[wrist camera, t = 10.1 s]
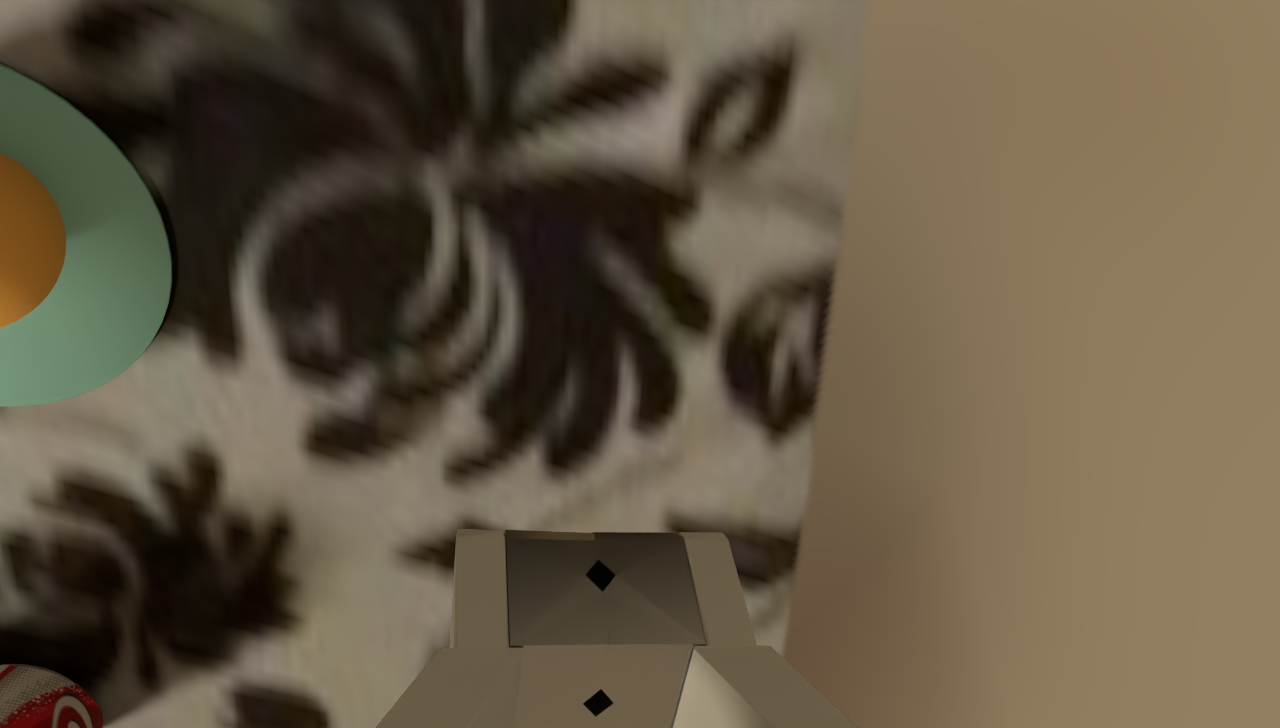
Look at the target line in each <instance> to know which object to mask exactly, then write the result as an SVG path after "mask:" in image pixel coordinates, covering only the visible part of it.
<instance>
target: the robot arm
mask: <svg viewBox="0 0 1280 728" xmlns="http://www.w3.org/2000/svg"><path fill="white" fill-rule="evenodd" d="M376 728H858V727H856V726H855V725H854V724H853V723H852V722H851V721H850V720H849V719H848V718H847V717H845V716H844V715H843V713H841V712H840V711H839V710H838V709H837V708H836V707H835V706H834V705H833V704H832V703H831V702H830V701H829V700H827V699H826V698H825V697H824V696H823V695H822V694H821V693H820V692H819V691H818V690H817V689H815V688H814V687H813V686H812V685H811V684H810V683H809V682H808V681H807V680H806V679H805V678H804V677H803V676H801V674H799V673H798V672H797V671H796V670H795V669H794V668H793V667H792V666H791V665H790V664H789V663H788V662H787V661H785V660H784V659H783V658H782V657H781V656H780V655H779V654H778V653H777V652H776V651H775V650H774V649H773V648H771V647H770V646H757V643H756V640H755V636H754V632H753V629H752V625H751V622H750V618H749V614H748V611H747V607H746V603H745V600H744V596H743V592H742V589H741V585H740V582H739V578H738V574H737V571H736V567H735V563H734V560H733V556H732V552H731V549H730V545H729V542H728V539H727V538H726V536H725V535H724V534H723V533H679V534H677V533H616V532H592V533H577V532H550V531H523V530H505V531H504V533H503V531H494V530H471V529H458V531H457V536H456V551H455V567H454V583H453V599H452V617H451V634H450V648H440V649H439V651H438V652H437V653H436V654H435V655H434V657H433V658H432V659H431V660H430V662H429V663H428V664H427V665H426V667H425V668H424V669H423V670H422V671H421V673H420V674H419V675H418V676H417V678H416V679H415V680H414V681H413V682H412V684H411V685H410V686H409V687H408V689H407V690H406V691H405V692H404V694H403V695H402V696H401V697H400V698H399V700H398V701H397V702H396V703H395V705H394V706H393V707H392V708H391V710H390V711H389V712H388V713H387V714H386V716H385V717H384V718H383V719H382V721H381V722H380V723H379V724H378V725H377V727H376Z"/></svg>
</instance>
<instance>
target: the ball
mask: <svg viewBox="0 0 1280 728" xmlns="http://www.w3.org/2000/svg"><path fill="white" fill-rule="evenodd" d="M65 254H66V234H65V227H64V224H63V220H62V217H61V214H60V211H59V209H58V207H57V205H56V202H55V201H54V199H53V198H52V196H51V194H50V193H49V191H48V190H47V189H46V187H45V186H44V185H43V184H42V183H41V181H40V180H39V179H38V178H37V177H36V176H35V175H34V174H32V173H31V172H30V171H29V170H28V169H26V168H25V167H24V166H22V165H21V164H20V163H18V162H17V161H15V160H13V159H11V158H10V157H8V156H6V155H4V154H2V153H0V328H2V327H5V326H7V325H9V324H11V323H13V322H16V321H18V320H19V319H21V318H22V317H24V316H26V315H27V314H29V313H30V312H31V311H33V310H34V309H35V308H36V307H37V306H39V305H40V304H41V303H42V301H43V300H44V299H45V298H46V297H47V296H48V295H49V293H50V292H51V290H52V289H53V287H54V286H55V284H56V282H57V280H58V278H59V276H60V273H61V271H62V268H63V265H64V260H65Z"/></svg>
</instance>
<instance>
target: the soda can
mask: <svg viewBox="0 0 1280 728" xmlns="http://www.w3.org/2000/svg"><path fill="white" fill-rule="evenodd" d="M102 727H103V716H102V713H101V710H100V708H99V706H98V705H97V703H96V701H95V700H94V699H93V698H92V697H91V696H90V695H89V694H88V693H87V692H86V691H85V690H84V689H82V688H81V687H80V686H79V685H77V684H75V683H74V682H72V681H71V680H70V679H68V678H67V677H65V676H63V675H61V674H59V673H57V672H55V671H52V670H49V669H46V668H43V667H39V666H34V665H27V664H3V665H0V728H102Z"/></svg>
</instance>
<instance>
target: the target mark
mask: <svg viewBox="0 0 1280 728" xmlns="http://www.w3.org/2000/svg"><path fill="white" fill-rule="evenodd" d="M0 153H2V154H4V155H6V156H8V157H10V158H11V159H13V160H15V161H17V162H18V163H20V164H21V165H22V166H24V167H25V168H26V169H28V170H29V171H30V172H31V173H32V174H34V175H35V176H36V177H37V178H38V179H39V180H40V181H41V183H42V184H43V185H44V186H45V187H46V189H47V190H48V191H49V193H50V194H51V196H52V198H53V199H54V201H55V202H56V205H57V207H58V209H59V211H60V214H61V217H62V220H63V224H64V227H65V234H66V254H65V260H64V265H63V268H62V271H61V273H60V276H59V278H58V280H57V282H56V284H55V286H54V287H53V289H52V290H51V292H50V293H49V295H48V296H47V297H46V298H45V299H44V300H43V301H42V303H41V304H40V305H39V306H37V307H36V308H35V309H34V310H33V311H31V312H30V313H29V314H27V315H26V316H24V317H22V318H21V319H19V320H18V321H16V322H13V323H11V324H9V325H7V326H5V327H2V328H0V406H26V405H38V404H44V403H49V402H55V401H60V400H64V399H68V398H71V397H74V396H77V395H80V394H83V393H86V392H88V391H90V390H92V389H95V388H97V387H99V386H101V385H103V384H105V383H107V382H108V381H110V380H111V379H113V378H115V377H116V376H118V375H119V374H121V373H122V372H124V371H125V370H126V369H127V368H128V367H129V366H130V365H131V364H133V363H134V362H135V361H136V360H137V359H138V358H139V357H140V356H141V354H142V353H143V352H144V351H145V349H146V348H147V347H148V346H149V344H150V343H151V342H152V340H153V338H154V336H155V335H156V333H157V331H158V329H159V327H160V325H161V324H162V321H163V319H164V316H165V313H166V310H167V307H168V304H169V300H170V293H171V286H172V256H171V251H170V245H169V239H168V235H167V232H166V229H165V226H164V223H163V220H162V216H161V213H160V211H159V209H158V207H157V205H156V203H155V201H154V199H153V197H152V195H151V193H150V191H149V189H148V187H147V186H146V184H145V182H144V181H143V179H142V178H141V176H140V175H139V173H138V172H137V170H136V169H135V167H134V166H133V164H132V163H131V162H130V161H129V159H128V158H127V157H126V156H125V155H124V153H123V152H122V151H121V150H120V148H119V147H118V146H117V145H116V144H115V143H114V142H113V141H112V140H111V139H110V138H109V137H108V136H107V135H106V134H105V133H104V132H103V131H102V130H101V129H100V128H99V127H98V126H97V125H96V124H95V123H94V122H93V121H92V120H91V119H89V118H88V117H87V116H86V115H84V114H83V113H82V112H81V111H79V110H78V109H77V108H76V107H74V106H73V105H72V104H71V103H69V102H68V101H67V100H65V99H64V98H62V97H61V96H59V95H57V94H56V93H54V92H53V91H51V90H50V89H48V88H47V87H45V86H43V85H42V84H40V83H39V82H37V81H35V80H33V79H31V78H29V77H27V76H25V75H23V74H21V73H19V72H17V71H16V70H14V69H12V68H10V67H7V66H5V65H2V64H0Z"/></svg>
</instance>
